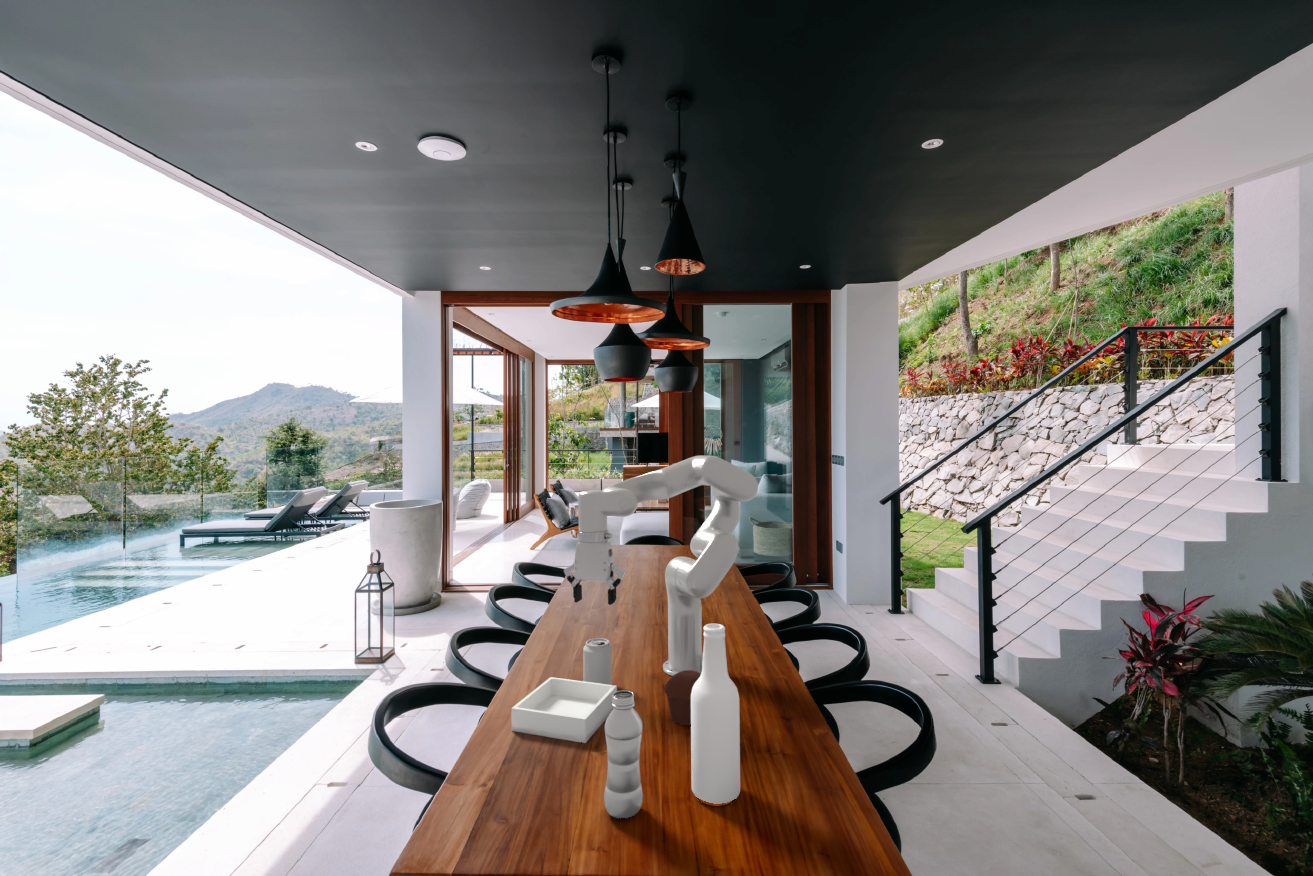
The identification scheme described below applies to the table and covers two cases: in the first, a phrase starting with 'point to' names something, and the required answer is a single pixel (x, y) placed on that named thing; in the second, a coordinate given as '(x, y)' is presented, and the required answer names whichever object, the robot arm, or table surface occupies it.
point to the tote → (564, 709)
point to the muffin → (681, 695)
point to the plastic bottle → (623, 757)
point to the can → (597, 661)
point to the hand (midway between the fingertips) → (594, 602)
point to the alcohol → (715, 725)
